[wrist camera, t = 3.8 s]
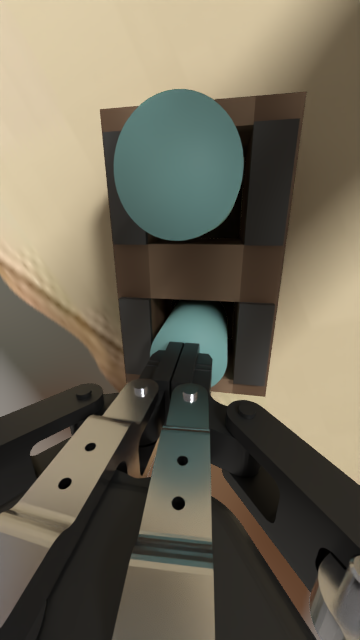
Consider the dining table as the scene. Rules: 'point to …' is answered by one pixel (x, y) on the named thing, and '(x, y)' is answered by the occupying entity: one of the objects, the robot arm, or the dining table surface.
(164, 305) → the socket block
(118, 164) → the peg
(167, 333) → the peg
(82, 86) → the dining table surface
